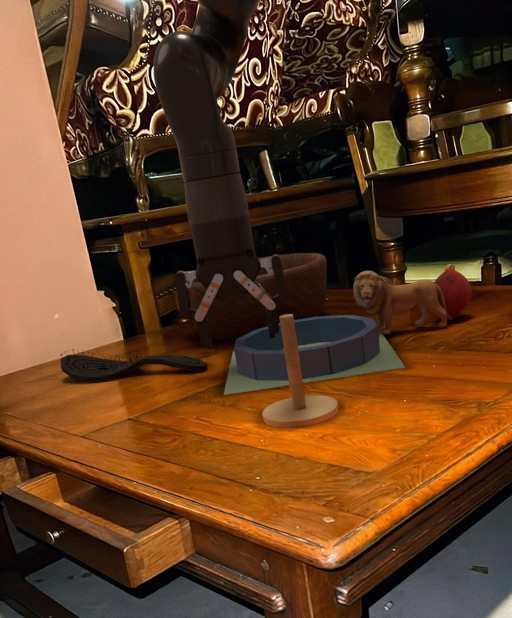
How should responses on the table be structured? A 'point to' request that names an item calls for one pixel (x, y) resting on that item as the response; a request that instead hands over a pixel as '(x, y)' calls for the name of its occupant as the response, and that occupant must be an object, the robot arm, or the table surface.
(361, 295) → the lion figurine
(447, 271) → the onion
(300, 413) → the dowel stand
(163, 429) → the table surface
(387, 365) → the green mat
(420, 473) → the table surface
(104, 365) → the hairbrush
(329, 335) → the blue ring
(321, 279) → the wooden bowl
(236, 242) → the robot arm
